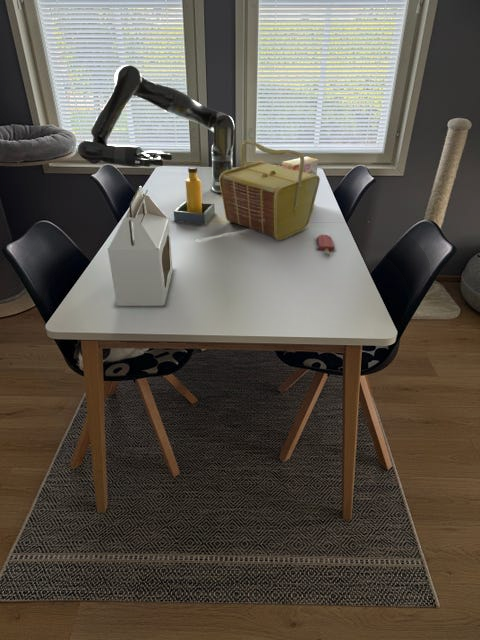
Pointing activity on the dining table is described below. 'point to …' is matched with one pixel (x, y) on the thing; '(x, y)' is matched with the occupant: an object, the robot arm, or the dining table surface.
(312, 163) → the coffeecake box
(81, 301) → the dining table surface
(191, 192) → the bottle
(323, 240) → the popsicle
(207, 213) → the tub
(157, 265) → the gable box
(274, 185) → the picnic basket
